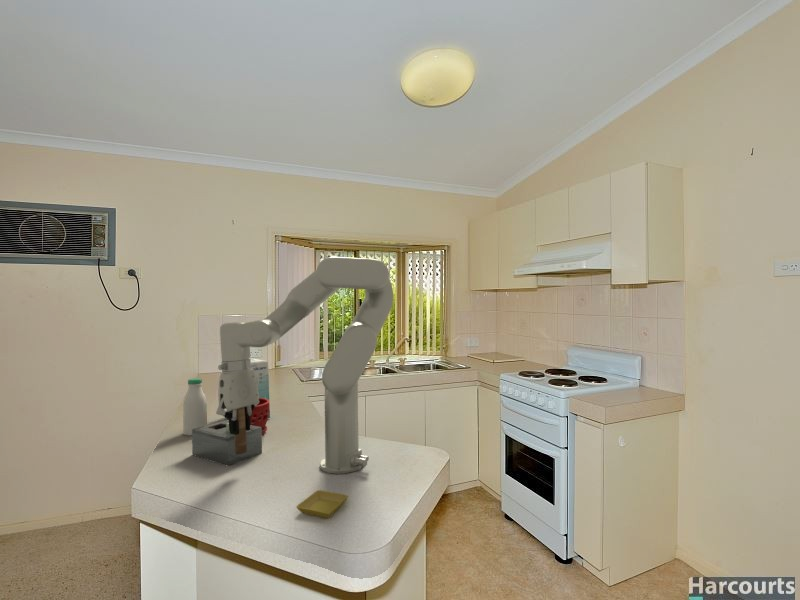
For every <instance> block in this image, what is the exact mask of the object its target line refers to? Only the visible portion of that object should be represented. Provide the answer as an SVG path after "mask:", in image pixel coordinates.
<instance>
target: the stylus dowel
mask: <svg viewBox="0 0 800 600" xmlns="http://www.w3.org/2000/svg"><path fill="white" fill-rule="evenodd" d="M236 420H238V422H239V434H238V435H235V452H236V454H243V453H245V452H247V440H246V422H245V407H243V408H239V409H237V413H236Z"/></svg>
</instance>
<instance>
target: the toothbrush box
mask: <svg viewBox="0 0 800 600" xmlns="http://www.w3.org/2000/svg"><path fill="white" fill-rule="evenodd" d="M250 359H251V369H254V372H255V375H256V380H257V386H258V394H259V398H264V399H268V400H269V401H270V381H269V380H270V379H269V378H270V377H269V361H268V360H264V359H258V358H254V357H253V358H252V357H250ZM256 406H257V405H256ZM268 419H271V410H270V404H269V416H268Z"/></svg>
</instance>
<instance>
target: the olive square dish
mask: <svg viewBox="0 0 800 600" xmlns="http://www.w3.org/2000/svg"><path fill="white" fill-rule="evenodd" d="M348 498H349V495H348V494H344V493H338V492H331V491H327V490H321V489H318V490H315V491H314V492H313V493H311V494H310V495H309V496H308V497H306V498H305V499H304V500H303V501H301V502H300V503H298V504H297V505H296V509H297V510H299V511H300V512H301V513H302V514H304V515H305V514H306V515H310V516H315V517H319V518H324V519H329V518H330V517H331V516H332V515H334V513H335V512H336V511H338V510H339V509H340V508H341V507H342V506H343V505H344V503H346V502H347V500H348Z"/></svg>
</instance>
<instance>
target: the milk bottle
mask: <svg viewBox="0 0 800 600" xmlns="http://www.w3.org/2000/svg"><path fill="white" fill-rule="evenodd" d="M202 382H203V379H202V378H200V377H196V378H189V379H188V380H187V386H188V390H187V392H186V395H185V397H184V400H183V414H182V415H183V422H182V424H183V426H182V428H183V435H184V436H186V435H188V436H190V437H192V429H195V428H199V427H202V426H206V425H208V419H207V418H208V412H207V411H208V409H207V408H208V406H207V397H206V395H205V393H204V391H203V388H202V385H203V383H202Z"/></svg>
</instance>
